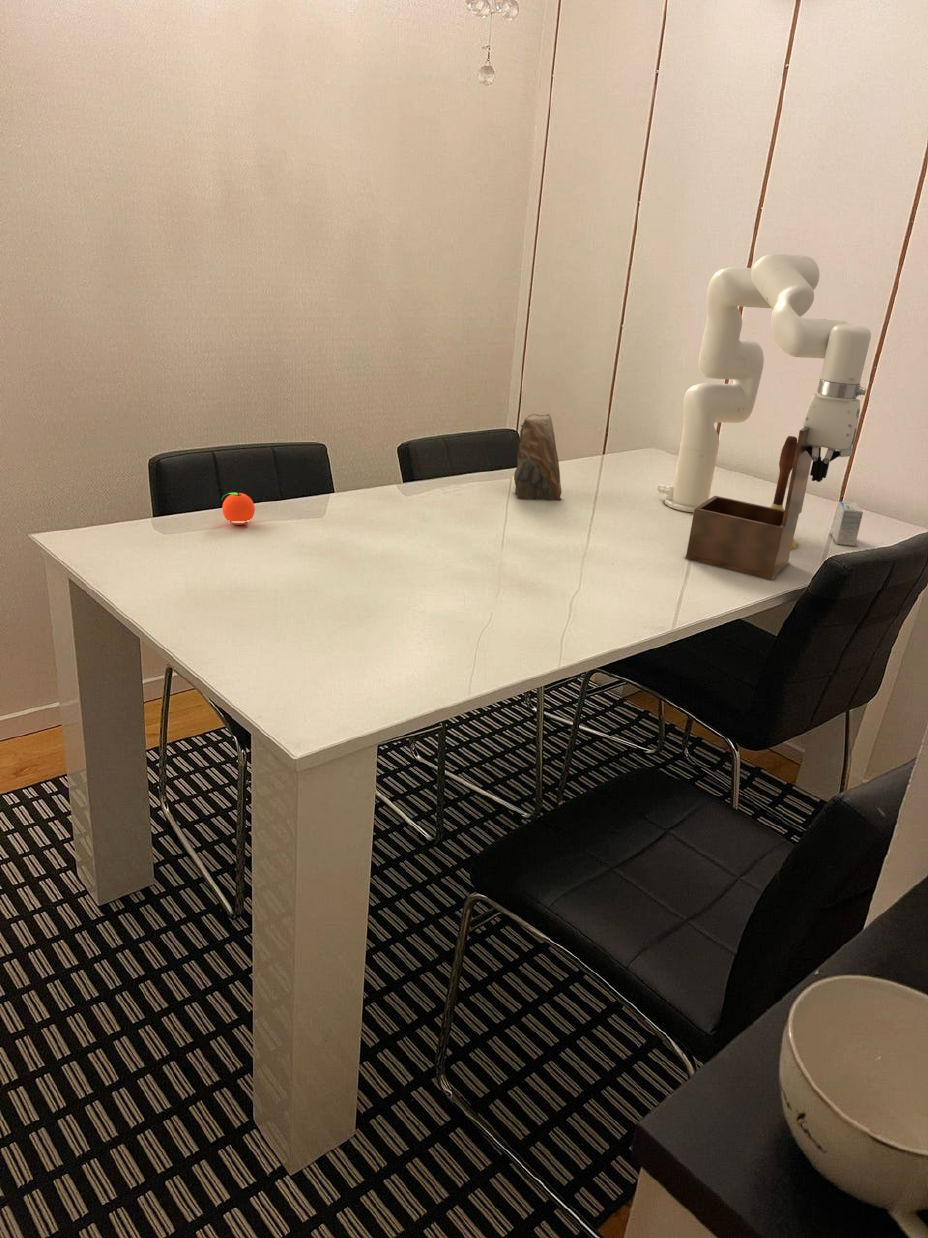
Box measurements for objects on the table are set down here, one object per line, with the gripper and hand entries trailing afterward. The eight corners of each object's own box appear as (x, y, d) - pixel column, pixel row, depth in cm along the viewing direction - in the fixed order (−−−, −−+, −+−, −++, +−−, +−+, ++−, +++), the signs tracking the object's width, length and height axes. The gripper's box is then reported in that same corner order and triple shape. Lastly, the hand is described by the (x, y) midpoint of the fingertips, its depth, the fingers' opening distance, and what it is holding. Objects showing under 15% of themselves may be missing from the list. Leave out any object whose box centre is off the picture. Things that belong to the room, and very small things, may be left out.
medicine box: (855, 546, 223) (864, 511, 220) (835, 544, 224) (844, 509, 220) (849, 536, 230) (857, 502, 227) (830, 534, 231) (838, 500, 228)
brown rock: (514, 499, 238) (521, 421, 230) (504, 485, 250) (511, 410, 242) (561, 500, 241) (571, 423, 233) (550, 486, 252) (558, 412, 244)
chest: (685, 558, 206) (694, 508, 202) (705, 543, 217) (714, 495, 213) (771, 580, 198) (782, 528, 193) (787, 562, 209) (799, 513, 204)
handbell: (759, 529, 230) (780, 428, 220) (806, 543, 223) (830, 439, 212) (733, 538, 222) (754, 433, 212) (780, 553, 214) (804, 445, 204)
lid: (799, 430, 185) (803, 430, 185) (815, 420, 196) (819, 420, 196) (781, 525, 193) (785, 526, 193) (797, 511, 204) (801, 511, 204)
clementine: (212, 524, 204) (210, 492, 201) (230, 516, 210) (229, 485, 207) (243, 531, 201) (242, 499, 198) (261, 522, 207) (260, 491, 204)
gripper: (880, 394, 185) (858, 484, 193) (803, 382, 192) (785, 469, 199) (873, 398, 179) (851, 491, 187) (795, 386, 186) (776, 476, 193)
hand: (817, 479), depth 193 cm, fingers closed
